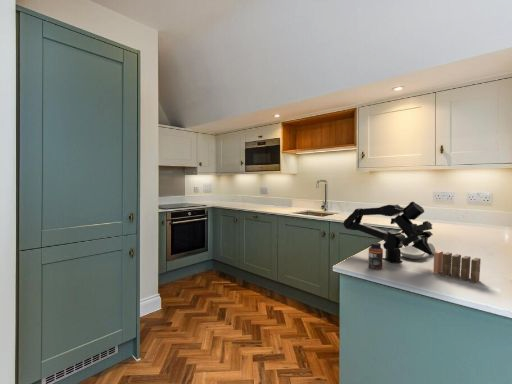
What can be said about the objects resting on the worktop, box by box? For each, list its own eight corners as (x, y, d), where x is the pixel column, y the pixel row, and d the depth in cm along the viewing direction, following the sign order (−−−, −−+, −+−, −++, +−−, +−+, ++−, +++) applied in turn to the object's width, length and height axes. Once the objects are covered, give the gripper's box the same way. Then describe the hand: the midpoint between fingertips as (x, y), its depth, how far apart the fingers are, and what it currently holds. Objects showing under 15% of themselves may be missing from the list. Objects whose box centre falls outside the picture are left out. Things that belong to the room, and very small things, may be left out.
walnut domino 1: (441, 275, 119) (443, 254, 118) (446, 272, 122) (447, 252, 121) (446, 276, 118) (447, 254, 117) (450, 273, 121) (452, 253, 120)
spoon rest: (416, 262, 137) (417, 248, 136) (393, 256, 147) (394, 243, 146) (442, 256, 148) (443, 243, 148) (420, 251, 158) (420, 238, 158)
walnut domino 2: (450, 277, 116) (452, 255, 116) (455, 274, 119) (456, 253, 119) (455, 278, 115) (456, 256, 114) (459, 276, 118) (461, 254, 117)
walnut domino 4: (470, 282, 111) (471, 259, 110) (474, 279, 114) (475, 257, 113) (475, 283, 110) (476, 260, 109) (479, 280, 113) (480, 258, 112)
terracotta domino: (433, 272, 122) (434, 252, 121) (438, 270, 125) (439, 250, 124) (437, 273, 120) (438, 253, 120) (442, 271, 123) (443, 251, 123)
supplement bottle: (378, 265, 130) (379, 241, 130) (384, 270, 124) (385, 244, 124) (365, 265, 130) (366, 241, 129) (371, 270, 124) (372, 244, 123)
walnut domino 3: (460, 279, 114) (461, 257, 113) (464, 277, 117) (465, 255, 116) (465, 280, 112) (466, 258, 112) (469, 278, 115) (470, 256, 115)
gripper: (410, 216, 122) (437, 247, 114) (428, 214, 133) (454, 241, 125) (391, 231, 129) (416, 261, 121) (411, 227, 140) (434, 254, 132)
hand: (431, 254), depth 124 cm, fingers closed
